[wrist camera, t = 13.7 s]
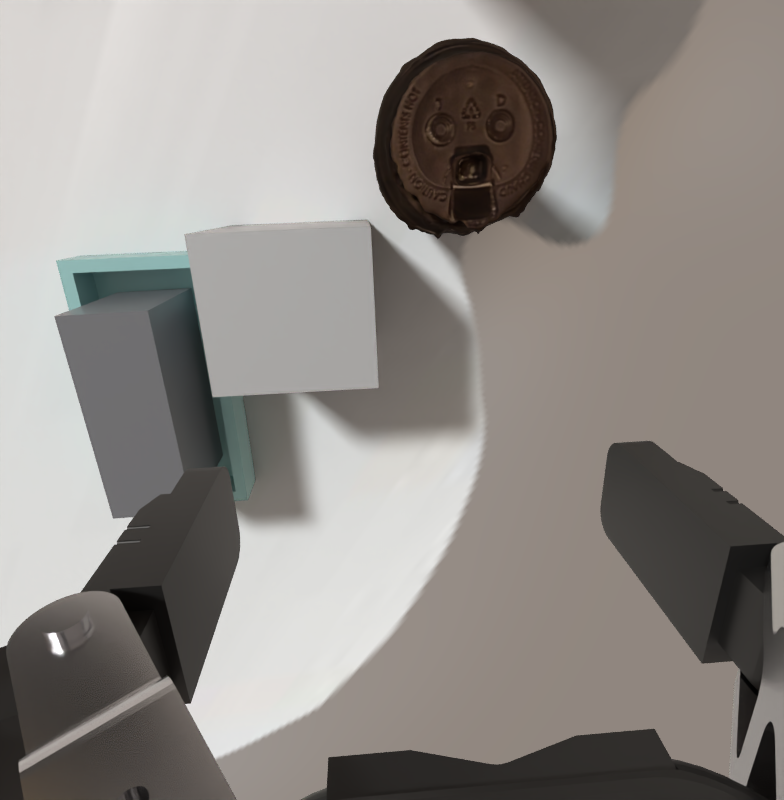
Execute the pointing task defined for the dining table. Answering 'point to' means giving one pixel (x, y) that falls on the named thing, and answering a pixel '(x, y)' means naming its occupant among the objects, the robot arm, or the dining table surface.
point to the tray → (172, 271)
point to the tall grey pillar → (142, 391)
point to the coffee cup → (463, 138)
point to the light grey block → (286, 306)
